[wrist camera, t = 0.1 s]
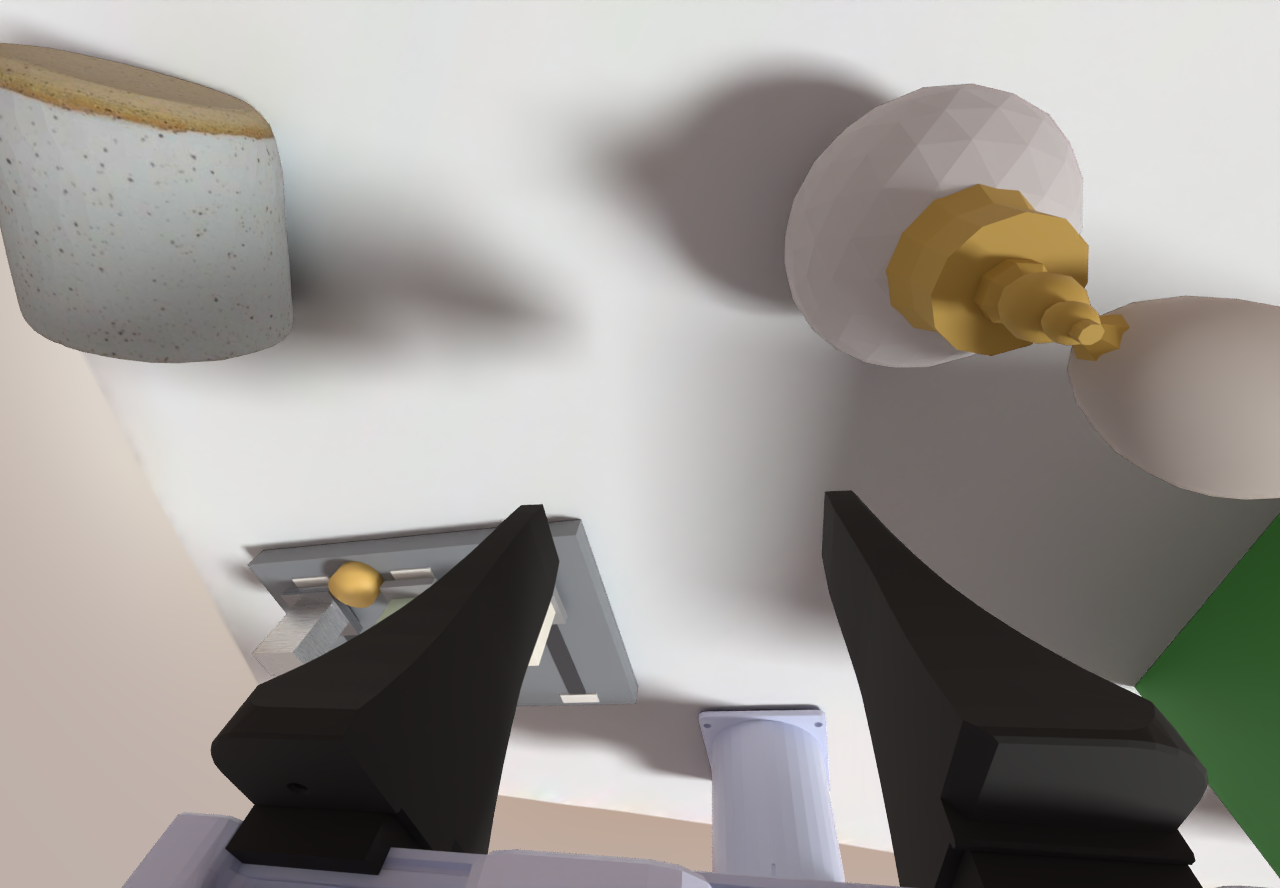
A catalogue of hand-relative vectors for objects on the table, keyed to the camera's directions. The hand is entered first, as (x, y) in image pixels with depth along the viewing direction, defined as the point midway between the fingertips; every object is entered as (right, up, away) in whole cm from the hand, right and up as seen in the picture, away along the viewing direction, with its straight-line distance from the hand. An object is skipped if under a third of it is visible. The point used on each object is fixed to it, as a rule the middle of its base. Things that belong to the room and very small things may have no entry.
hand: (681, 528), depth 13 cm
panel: (-12, -9, +19) cm, 24 cm away
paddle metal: (-20, -8, +17) cm, 27 cm away
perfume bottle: (+9, +10, +5) cm, 14 cm away
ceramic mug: (-18, +12, +7) cm, 23 cm away
